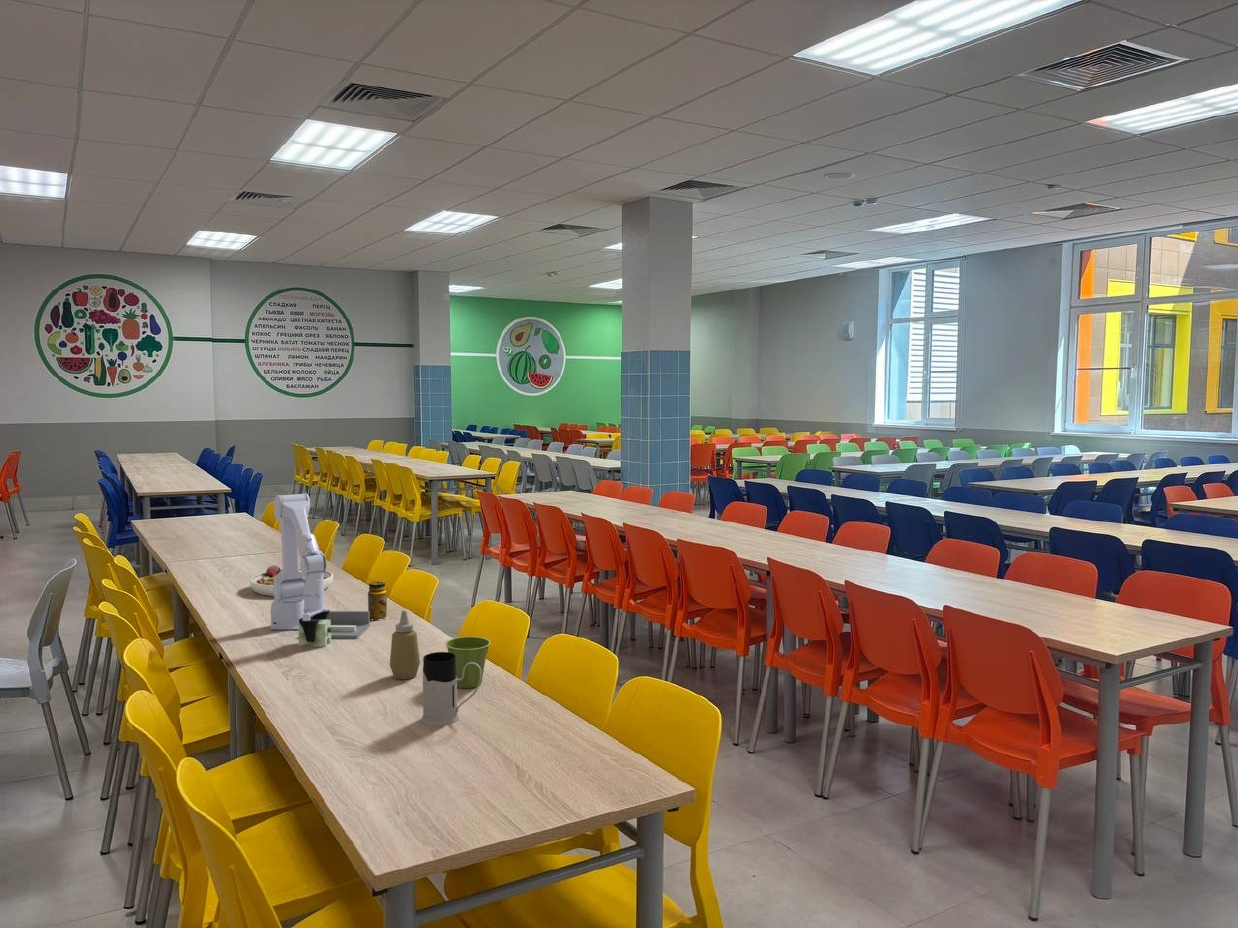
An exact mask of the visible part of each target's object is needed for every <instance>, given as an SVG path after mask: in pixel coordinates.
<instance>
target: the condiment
mask: <svg viewBox="0 0 1238 928" xmlns="http://www.w3.org/2000/svg"><path fill="white" fill-rule="evenodd" d="M387 599H388V598H387V590H386V583H385V582H383V581H373V582H370V583H368V591H367V602H368V603H367V605H368V607H367V609H368V610H367V611H370V619H373V620H376V621H380V620H379V619H385V620H389V619H391V617H390V616H388V615H387V614H388V612H387V611H388V609H387V608H388V606H387V605H388V604H387V601H388V600H387ZM373 620H372V621H371V622H374V621H373Z"/></svg>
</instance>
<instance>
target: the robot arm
mask: <svg viewBox="0 0 1238 928" xmlns="http://www.w3.org/2000/svg"><path fill="white" fill-rule="evenodd" d="M310 498H311V497H310V495H308V493H305V492H304V493H297V494H283V495H282V494H281V495H280V494H277V495H276V496H275V498H274V501H273V513H274V519H275V520H278V521H279V522H280V530H281V531H280V534H281V560H282V563H281V564H282V569H283V570H282V569H281V570H282V571H281V572H279V573H278V574H277V575H276V576H275V577H274V584H273V594H274V596H273V598H274V600H273V601H272V602H271V606H270V624H271V625H270V628H269V629H270V630H278V631H279V630H285V631H286V630H288V631H289V630H292V631H293V630H294V631H295V630H296V631H297V630H298V631H299V629H298V624H299V623H300V625H301V626H302V628H303V631H304V634H305V637H306V641H307V642H314V641H315V636H316V628H317V625H318V622H319V620H326V619H327V616H328V614H329V611H330V610H329V607H328V606H327V607H326V602H325V589H324V575H323V572H325V571H327V559H326V555H325V554H324V553H323V551H322V550H320V547H319V545H318V541H317V538H316V536H315V534H313V533H311V530H310V524H309V520H308V515H309V513H310V511H311V499H310ZM298 553H299V556H300V561H299V556H298ZM299 562H300V563H299ZM299 566H300V568H299ZM298 569H301V571H300V570H298ZM297 578H299V579H297ZM289 579H291V580H289Z"/></svg>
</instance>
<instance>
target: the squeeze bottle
mask: <svg viewBox="0 0 1238 928" xmlns="http://www.w3.org/2000/svg"><path fill="white" fill-rule="evenodd" d="M417 634H418V632H416V631H415V630H414V623H412V622H410V621H409V617H408V611H407V610H402V611H401V613H400V619H399V622H398V623H395V631H394V632H393V633H392V634H391V644H390V645H391V646H390V657H389V667H390V670H391V672H392V674H393V678H395V679H397V680H408V679H410V680H411V679H413V678H415V677H416V676H417V675H418V671H419V668H420V665H421V661H420V660H421V658H420V651H419V641H418V635H417Z"/></svg>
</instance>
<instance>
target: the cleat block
mask: <svg viewBox="0 0 1238 928" xmlns="http://www.w3.org/2000/svg"><path fill="white" fill-rule="evenodd" d="M298 629H299V630H298V648H304V647H305V648H323V647H324V648H326V647H327V646H328V644H330V643H331V642H332V638H331V632H332V627H331V620H319V622H318V625H317V628H316V636H315V641H314V642H307V641H306V637H305V634H304V631H303V628H302V626H301V625H300V623H299V624H298Z"/></svg>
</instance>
